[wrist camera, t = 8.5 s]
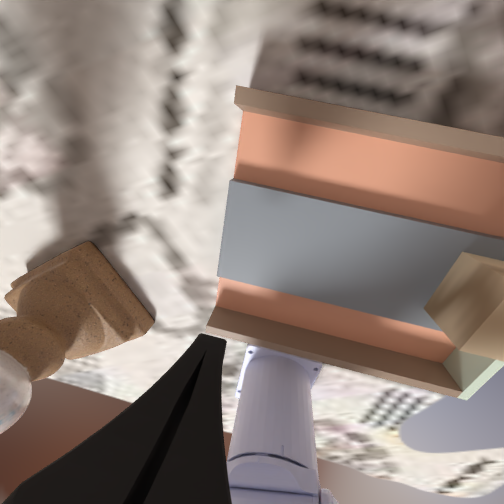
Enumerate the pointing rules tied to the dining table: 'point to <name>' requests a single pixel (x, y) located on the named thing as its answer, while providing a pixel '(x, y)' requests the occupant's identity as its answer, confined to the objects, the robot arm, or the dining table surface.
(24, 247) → the dining table surface
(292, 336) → the box
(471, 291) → the maple block
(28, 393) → the candle holder
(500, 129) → the dining table surface
